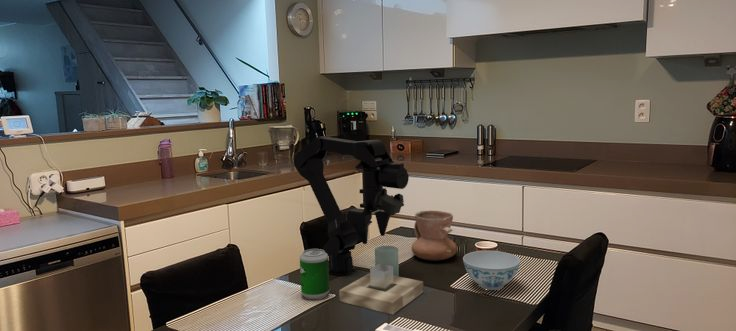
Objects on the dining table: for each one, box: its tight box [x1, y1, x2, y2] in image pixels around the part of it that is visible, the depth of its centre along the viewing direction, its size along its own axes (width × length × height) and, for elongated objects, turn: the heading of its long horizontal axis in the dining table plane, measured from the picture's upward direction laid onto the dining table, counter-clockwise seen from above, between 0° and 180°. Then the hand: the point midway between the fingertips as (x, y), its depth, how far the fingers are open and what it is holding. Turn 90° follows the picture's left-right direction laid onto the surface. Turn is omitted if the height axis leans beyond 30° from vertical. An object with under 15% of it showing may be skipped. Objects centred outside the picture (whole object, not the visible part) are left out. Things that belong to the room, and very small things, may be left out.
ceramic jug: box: [411, 209, 458, 262], centre depth 168 cm, size 18×14×14 cm
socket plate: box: [338, 272, 424, 315], centre depth 137 cm, size 16×16×3 cm
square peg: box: [369, 264, 393, 292], centre depth 137 cm, size 4×4×8 cm
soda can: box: [299, 248, 330, 300], centre depth 139 cm, size 8×8×12 cm
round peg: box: [374, 245, 400, 277], centre depth 152 cm, size 7×7×8 cm
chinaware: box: [462, 250, 521, 291], centre depth 142 cm, size 15×15×8 cm
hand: (374, 239), depth 147 cm, fingers open, 9 cm apart
